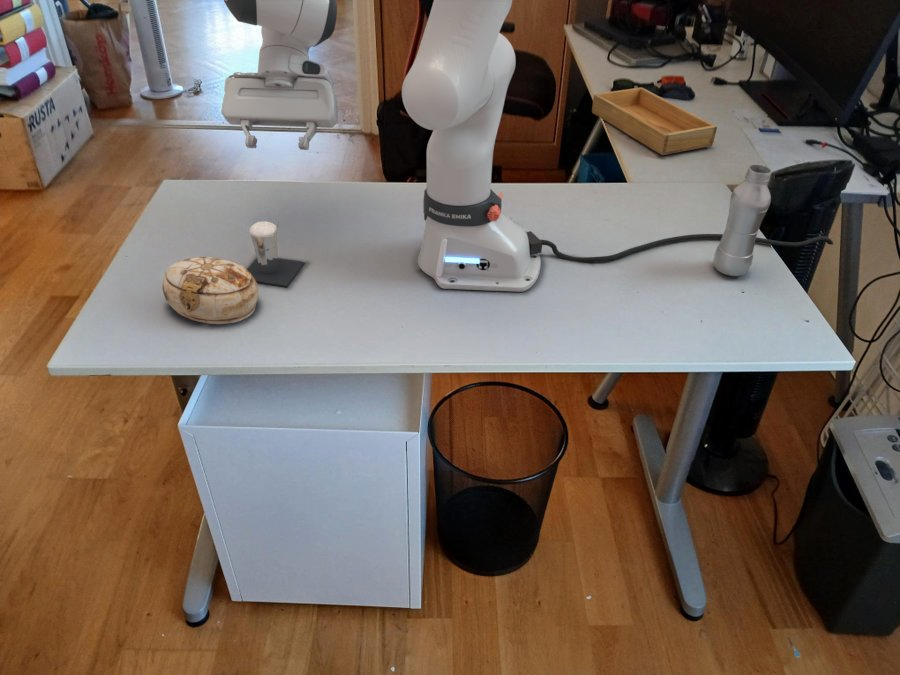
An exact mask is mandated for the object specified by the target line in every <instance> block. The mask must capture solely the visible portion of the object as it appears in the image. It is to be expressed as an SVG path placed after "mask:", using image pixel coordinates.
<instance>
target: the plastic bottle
mask: <svg viewBox="0 0 900 675" xmlns="http://www.w3.org/2000/svg"><path fill="white" fill-rule="evenodd" d="M771 175H772V169H771V168H770V167H768V166H766V165H763V164H751V165H749V166H748V167H747V170H746V173H745V175H744V178H745V179H744V180H743V181H742V182H740V183H739V184H738V185H737V186H735V187H734V188H733V190H732V191H731V194H730V200H729V208H728V216H727V221H726V224H725V228H724V231H723V233H722V234H723V236H722V239H720V242H719V243H718V245H717V247H716V249H715V252H714V254H713V266H714V268H715V269H716V270H717V272H719V273H721V274H722V275H726V276H730V277H742V276H743V275H745V274H746V273H748V271H749V269H750V268H751V266H752V264H753V259H754V258H753V257H754V249H755V244H756V242H755V240H756V237H757V236H758V232H759V229H760V227H761V225H762V223H763V221H764V218H765V216H766V214H767V211H768V210H769V208H770V206H771V202H772V195H771V192H770V189H769V187H768V183H769V182H770V179H771Z"/></svg>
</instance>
